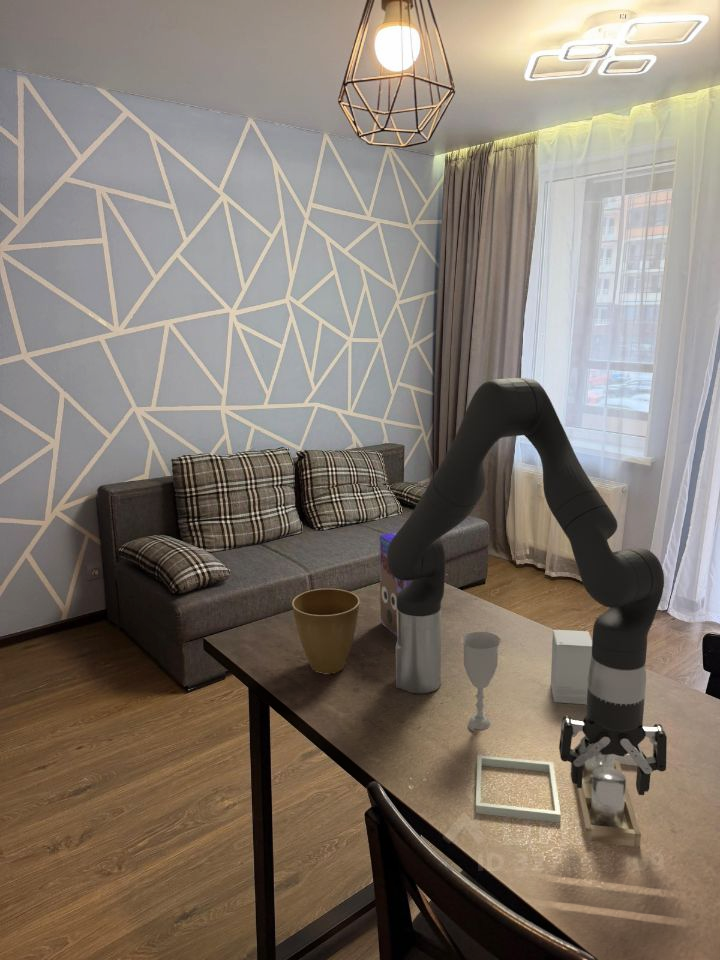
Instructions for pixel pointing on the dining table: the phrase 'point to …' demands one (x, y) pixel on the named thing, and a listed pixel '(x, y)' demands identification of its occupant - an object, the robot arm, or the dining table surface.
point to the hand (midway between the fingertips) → (608, 788)
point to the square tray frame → (512, 810)
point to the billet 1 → (597, 765)
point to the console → (625, 759)
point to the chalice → (480, 669)
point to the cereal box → (388, 586)
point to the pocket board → (602, 833)
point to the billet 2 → (607, 797)
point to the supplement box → (570, 666)
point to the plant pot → (326, 626)
